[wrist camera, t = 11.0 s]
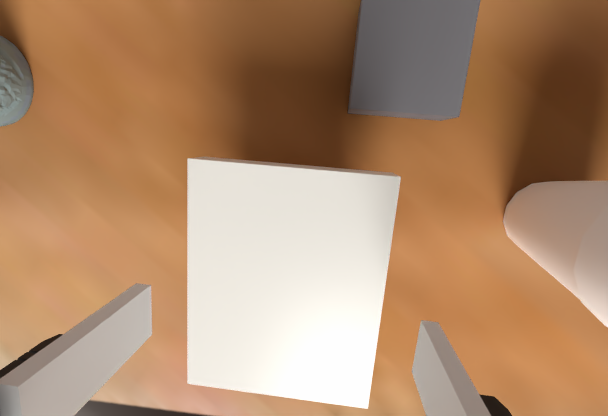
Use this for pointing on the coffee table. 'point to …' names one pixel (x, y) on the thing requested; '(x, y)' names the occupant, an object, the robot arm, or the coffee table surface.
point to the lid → (287, 277)
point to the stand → (412, 57)
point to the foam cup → (566, 235)
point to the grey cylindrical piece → (13, 83)
